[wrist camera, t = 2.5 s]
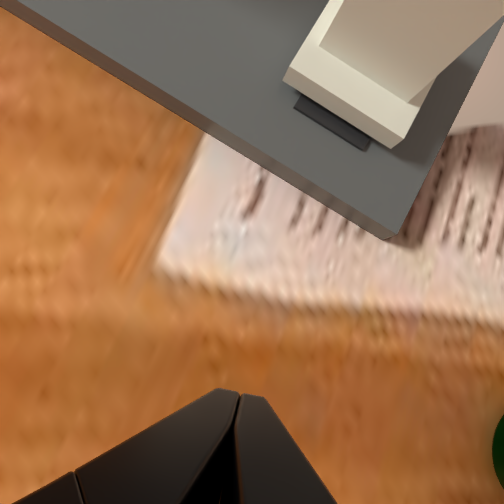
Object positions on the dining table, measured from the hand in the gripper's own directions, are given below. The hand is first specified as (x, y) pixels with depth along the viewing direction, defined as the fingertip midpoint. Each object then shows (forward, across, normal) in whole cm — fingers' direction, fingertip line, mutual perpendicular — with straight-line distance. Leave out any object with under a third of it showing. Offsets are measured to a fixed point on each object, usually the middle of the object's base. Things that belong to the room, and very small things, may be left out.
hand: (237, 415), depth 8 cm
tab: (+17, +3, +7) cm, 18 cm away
